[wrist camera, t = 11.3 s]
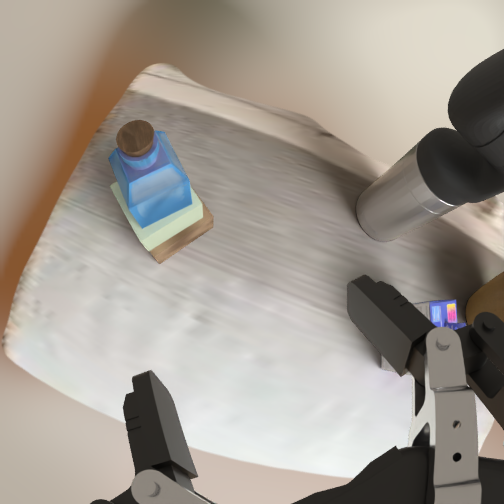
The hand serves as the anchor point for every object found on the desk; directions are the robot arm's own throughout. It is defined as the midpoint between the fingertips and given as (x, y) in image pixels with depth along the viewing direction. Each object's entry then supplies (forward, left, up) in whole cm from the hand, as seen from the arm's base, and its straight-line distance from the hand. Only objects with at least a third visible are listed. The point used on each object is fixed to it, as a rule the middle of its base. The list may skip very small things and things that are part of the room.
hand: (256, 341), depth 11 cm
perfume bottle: (-1, -17, -22) cm, 27 cm away
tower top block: (-1, -17, -26) cm, 31 cm away
